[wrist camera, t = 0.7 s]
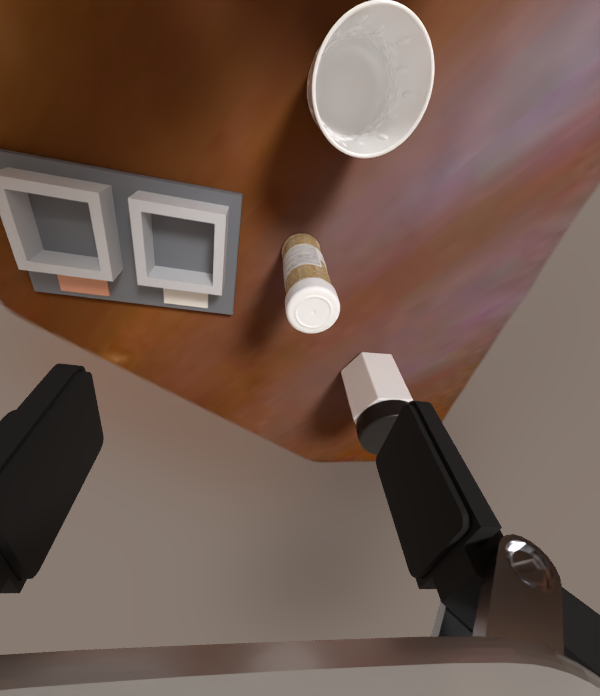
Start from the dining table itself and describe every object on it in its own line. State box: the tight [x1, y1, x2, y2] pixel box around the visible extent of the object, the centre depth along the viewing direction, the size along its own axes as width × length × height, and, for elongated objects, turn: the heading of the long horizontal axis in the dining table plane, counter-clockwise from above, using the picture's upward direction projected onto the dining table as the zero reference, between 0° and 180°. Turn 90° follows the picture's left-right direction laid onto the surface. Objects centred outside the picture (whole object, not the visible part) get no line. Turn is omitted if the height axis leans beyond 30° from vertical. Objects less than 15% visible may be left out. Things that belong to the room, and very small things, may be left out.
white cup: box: [306, 0, 434, 158], centre depth 25 cm, size 8×8×10 cm
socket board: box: [0, 149, 243, 315], centre depth 34 cm, size 14×22×4 cm, turn 79°
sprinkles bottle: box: [282, 233, 340, 333], centre depth 32 cm, size 5×5×13 cm
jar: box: [341, 352, 413, 455], centre depth 45 cm, size 9×8×12 cm
